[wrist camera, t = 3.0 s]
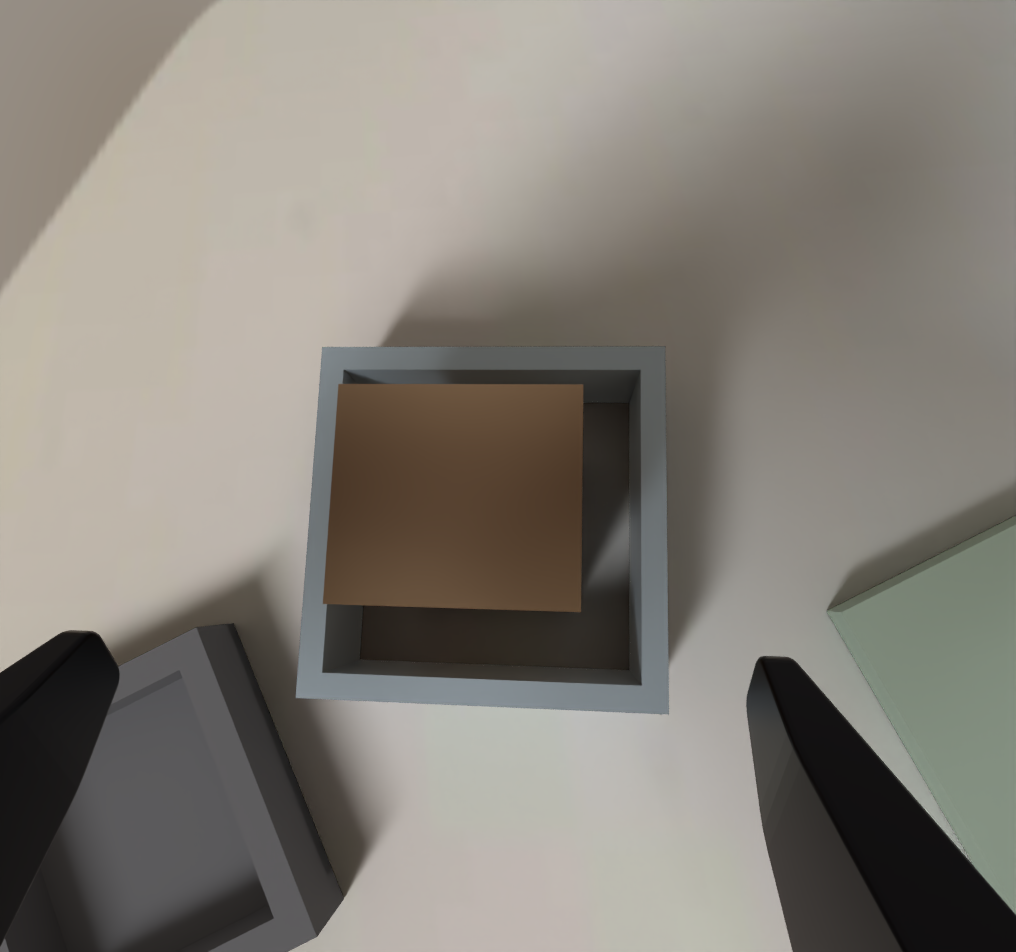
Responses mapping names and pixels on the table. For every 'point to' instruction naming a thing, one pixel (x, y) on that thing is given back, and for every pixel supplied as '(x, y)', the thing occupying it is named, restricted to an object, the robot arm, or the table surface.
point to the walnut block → (457, 497)
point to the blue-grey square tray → (642, 689)
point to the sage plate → (952, 685)
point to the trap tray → (183, 821)
